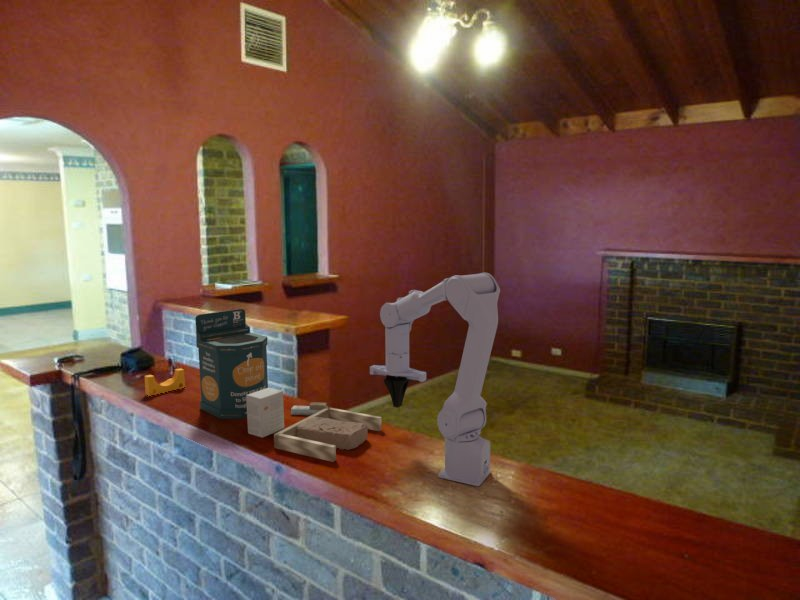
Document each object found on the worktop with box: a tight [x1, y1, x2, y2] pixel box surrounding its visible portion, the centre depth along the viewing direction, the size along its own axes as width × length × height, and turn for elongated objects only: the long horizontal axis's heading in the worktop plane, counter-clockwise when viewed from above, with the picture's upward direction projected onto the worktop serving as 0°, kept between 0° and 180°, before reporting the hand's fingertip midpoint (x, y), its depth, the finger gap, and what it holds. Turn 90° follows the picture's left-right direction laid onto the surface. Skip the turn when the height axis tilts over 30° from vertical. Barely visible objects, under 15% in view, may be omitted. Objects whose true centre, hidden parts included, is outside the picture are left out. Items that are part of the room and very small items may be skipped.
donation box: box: [194, 308, 269, 420], centre depth 166 cm, size 16×16×28 cm
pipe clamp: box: [143, 367, 186, 397], centre depth 185 cm, size 12×4×6 cm, turn 139°
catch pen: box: [273, 406, 383, 463], centre depth 145 cm, size 17×22×4 cm
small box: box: [246, 387, 285, 438], centre depth 150 cm, size 8×6×10 cm
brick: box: [297, 417, 369, 451], centre depth 144 cm, size 17×8×5 cm, turn 65°
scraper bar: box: [290, 401, 329, 416], centre depth 164 cm, size 10×3×3 cm, turn 86°
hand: (397, 406), depth 140 cm, fingers closed
